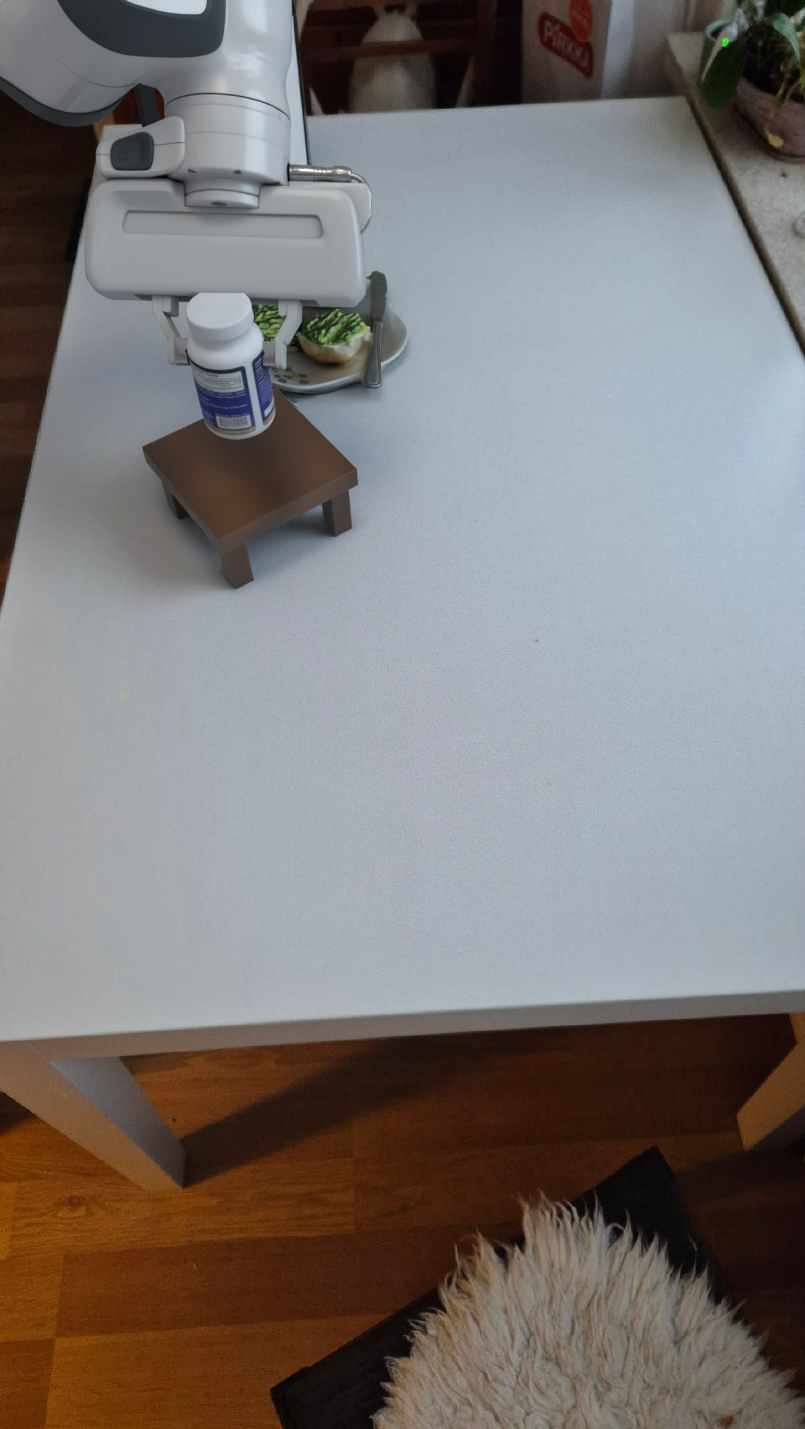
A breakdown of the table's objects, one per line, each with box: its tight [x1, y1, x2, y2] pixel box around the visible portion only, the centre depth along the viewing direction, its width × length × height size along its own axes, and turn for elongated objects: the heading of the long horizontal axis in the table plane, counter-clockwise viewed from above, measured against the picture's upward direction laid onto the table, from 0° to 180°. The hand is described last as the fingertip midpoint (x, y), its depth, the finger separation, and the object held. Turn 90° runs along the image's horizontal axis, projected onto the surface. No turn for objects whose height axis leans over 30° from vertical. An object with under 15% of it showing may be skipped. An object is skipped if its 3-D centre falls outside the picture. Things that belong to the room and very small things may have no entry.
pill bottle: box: [185, 293, 275, 439], centre depth 75 cm, size 6×6×10 cm
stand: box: [141, 386, 359, 590], centre depth 86 cm, size 13×13×7 cm
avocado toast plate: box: [251, 270, 409, 395], centre depth 100 cm, size 19×18×5 cm
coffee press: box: [132, 0, 312, 165], centre depth 104 cm, size 17×16×30 cm
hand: (226, 366), depth 75 cm, fingers closed on pill bottle, 6 cm apart
